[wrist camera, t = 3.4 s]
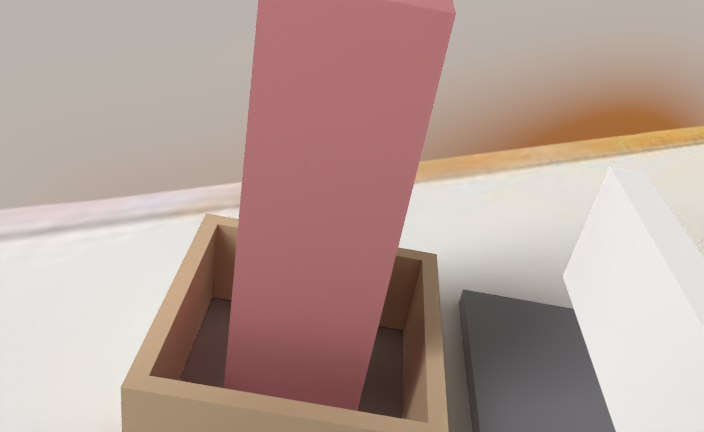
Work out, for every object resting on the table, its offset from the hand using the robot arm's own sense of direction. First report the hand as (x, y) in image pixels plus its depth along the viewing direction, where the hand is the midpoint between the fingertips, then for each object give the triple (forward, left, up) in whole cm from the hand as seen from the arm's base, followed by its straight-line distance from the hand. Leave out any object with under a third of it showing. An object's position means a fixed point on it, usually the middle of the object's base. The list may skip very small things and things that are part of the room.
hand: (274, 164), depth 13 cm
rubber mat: (-15, -14, -18) cm, 27 cm away
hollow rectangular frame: (-1, -12, -18) cm, 22 cm away
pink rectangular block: (-1, -12, -19) cm, 22 cm away
